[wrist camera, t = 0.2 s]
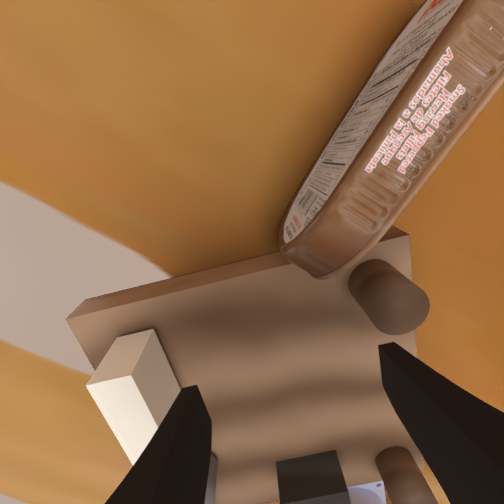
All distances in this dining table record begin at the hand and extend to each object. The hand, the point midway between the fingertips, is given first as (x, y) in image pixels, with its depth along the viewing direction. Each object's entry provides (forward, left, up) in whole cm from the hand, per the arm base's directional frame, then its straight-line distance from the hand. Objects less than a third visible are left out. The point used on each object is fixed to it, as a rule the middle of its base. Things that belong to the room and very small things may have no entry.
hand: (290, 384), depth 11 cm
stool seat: (-9, +2, -10) cm, 14 cm away
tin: (+8, -7, -10) cm, 15 cm away
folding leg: (-8, +9, -7) cm, 14 cm away
